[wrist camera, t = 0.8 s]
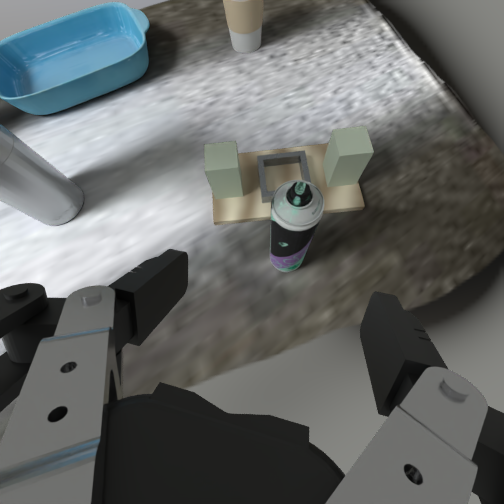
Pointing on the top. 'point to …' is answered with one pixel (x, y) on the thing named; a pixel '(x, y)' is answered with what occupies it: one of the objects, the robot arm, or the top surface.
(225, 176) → the sage pillars
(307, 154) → the wooden board
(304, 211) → the spray can
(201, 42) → the top surface
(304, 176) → the metal collar
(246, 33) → the coffee cup
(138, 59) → the casserole dish
